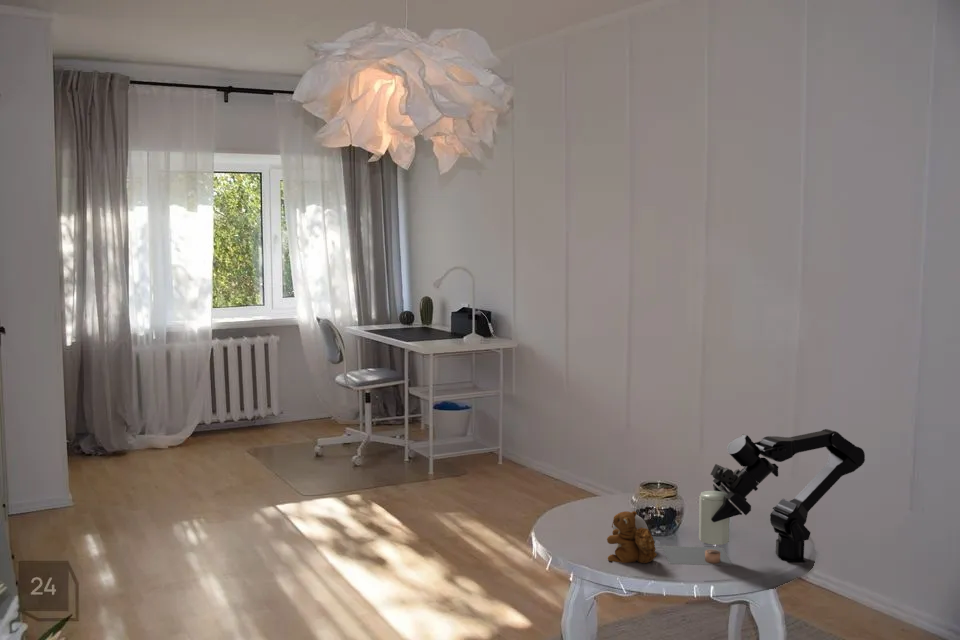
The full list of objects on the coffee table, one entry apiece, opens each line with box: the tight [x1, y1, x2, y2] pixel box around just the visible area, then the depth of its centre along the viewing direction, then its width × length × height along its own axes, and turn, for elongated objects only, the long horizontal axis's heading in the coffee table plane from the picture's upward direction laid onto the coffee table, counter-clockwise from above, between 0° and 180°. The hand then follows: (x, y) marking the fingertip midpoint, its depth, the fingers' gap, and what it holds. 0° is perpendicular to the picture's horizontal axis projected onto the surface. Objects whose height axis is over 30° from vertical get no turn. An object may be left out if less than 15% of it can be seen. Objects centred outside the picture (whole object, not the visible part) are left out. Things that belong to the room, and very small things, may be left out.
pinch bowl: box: [705, 549, 720, 564], centre depth 243 cm, size 4×4×2 cm
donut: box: [612, 514, 649, 531], centre depth 254 cm, size 10×4×10 cm, turn 67°
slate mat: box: [661, 545, 734, 567], centre depth 247 cm, size 17×14×1 cm
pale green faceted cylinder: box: [698, 490, 730, 546], centre depth 242 cm, size 7×7×12 cm
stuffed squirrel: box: [606, 510, 658, 564], centre depth 244 cm, size 10×14×13 cm
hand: (708, 516), depth 242 cm, fingers closed on pale green faceted cylinder, 7 cm apart
